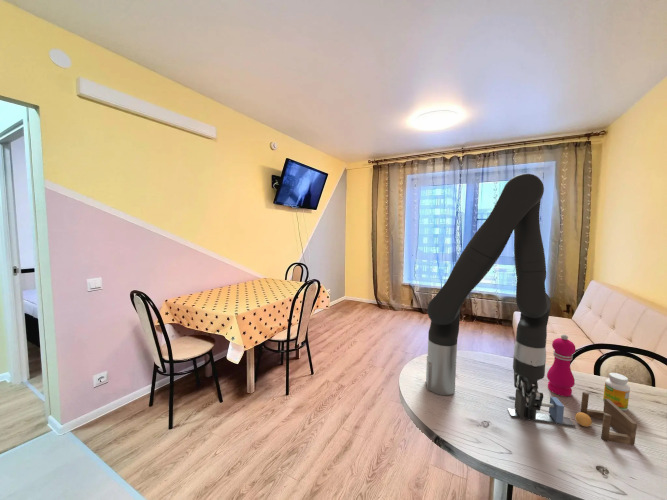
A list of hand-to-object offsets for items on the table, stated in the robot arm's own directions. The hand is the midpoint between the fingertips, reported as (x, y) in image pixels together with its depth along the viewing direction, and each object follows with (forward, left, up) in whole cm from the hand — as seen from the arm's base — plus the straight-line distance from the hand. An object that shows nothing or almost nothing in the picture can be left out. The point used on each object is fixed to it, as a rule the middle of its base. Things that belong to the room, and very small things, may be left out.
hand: (524, 411), depth 81 cm
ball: (+14, 0, 0) cm, 15 cm away
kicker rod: (+3, 0, 0) cm, 3 cm away
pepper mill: (+16, +17, -2) cm, 23 cm away
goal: (+20, 0, -1) cm, 20 cm away
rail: (+4, 0, -1) cm, 4 cm away
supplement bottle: (+29, +13, -2) cm, 32 cm away
